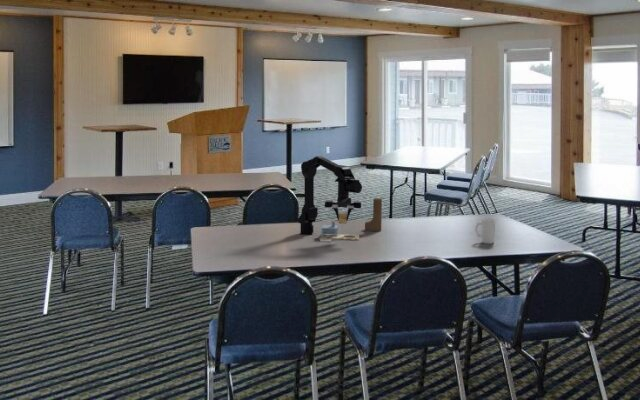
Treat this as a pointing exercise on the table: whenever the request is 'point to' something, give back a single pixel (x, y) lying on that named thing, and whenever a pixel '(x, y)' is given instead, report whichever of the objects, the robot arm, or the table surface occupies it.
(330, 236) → the board
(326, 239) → the mat
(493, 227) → the mug
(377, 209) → the wooden block
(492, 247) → the table surface
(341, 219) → the block
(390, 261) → the table surface
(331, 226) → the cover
